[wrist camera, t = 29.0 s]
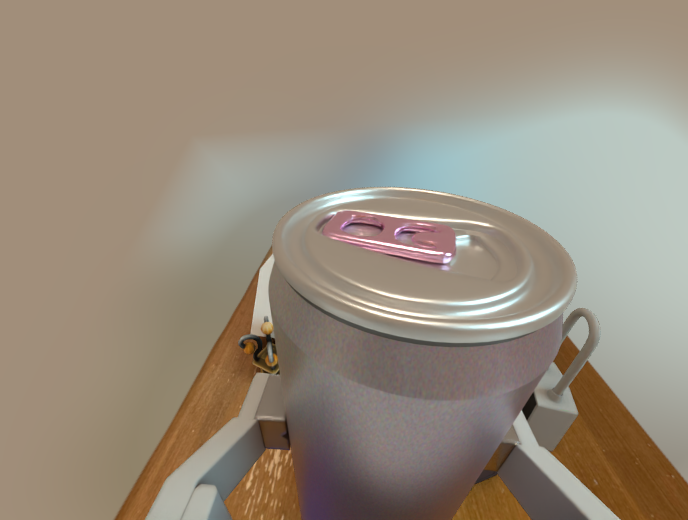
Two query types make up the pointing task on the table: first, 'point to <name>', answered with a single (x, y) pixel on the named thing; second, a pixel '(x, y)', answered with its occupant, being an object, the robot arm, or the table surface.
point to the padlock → (559, 389)
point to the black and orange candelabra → (268, 355)
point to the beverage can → (408, 344)
